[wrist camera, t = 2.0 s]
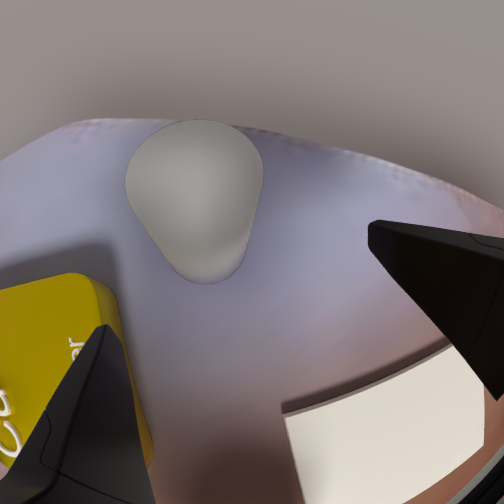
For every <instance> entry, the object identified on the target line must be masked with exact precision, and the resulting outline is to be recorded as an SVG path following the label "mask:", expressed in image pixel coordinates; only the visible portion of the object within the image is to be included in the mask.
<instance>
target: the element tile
mask: <svg viewBox="0 0 504 504" xmlns="http://www.w3.org/2000/svg"><path fill="white" fill-rule="evenodd" d="M104 324H108V325H110V327H111V328H112V329H113V331H114V332H115V334H116V335H117V337H118V338H119V339H120V341H121V343H122V345H123V348H124V352H125V358H126V362H127V367H128V372H129V376H130V381H131V385H132V390H133V396H134V404H135V411H136V417H137V423H138V429H139V435H140V440H141V445H142V450H143V455H144V460H145V464H146V469H147V467H148V466H149V464H150V462H151V461H152V459H153V457H154V446H153V441H152V438H151V436H150V433H149V430H148V427H147V424H146V421H145V418H144V414H143V411H142V408H141V405H140V401H139V398H138V394H137V391H136V387H135V383H134V379H133V376H132V372H131V368H130V363H129V359H128V355H127V350H126V346H125V341H124V336H123V331H122V326H121V320H120V315H119V309H118V304H117V301H116V298H115V296H114V295H113V293H112V291H111V290H110V289H109V288H108V287H106V286H105V285H104V284H102V283H99V282H97V281H95V280H93V279H91V278H89V277H87V276H85V275H82V274H79V273H65V274H61V275H57V276H53V277H49V278H45V279H41V280H37V281H33V282H29V283H25V284H21V285H17V286H13V287H9V288H6V289H2V290H0V461H1V462H2V464H4V465H5V466H6V467H8V468H9V469H10V468H11V466H12V464H13V462H14V461H15V459H16V457H17V456H18V454H19V452H20V451H21V449H22V447H23V446H24V444H25V442H26V441H27V439H28V437H29V436H30V434H31V432H32V431H33V429H34V427H35V425H36V424H37V422H38V420H39V418H40V417H41V415H42V413H43V411H44V410H46V409H45V408H46V406H47V404H48V402H49V401H50V399H51V397H52V395H53V394H54V392H55V390H56V389H57V387H58V385H59V384H60V382H61V380H62V379H63V377H64V375H65V374H66V372H67V371H68V369H69V367H70V366H71V364H72V363H73V361H74V360H75V358H76V356H77V355H78V353H79V352H80V350H81V349H82V347H83V346H84V344H85V343H86V341H87V340H88V338H89V337H90V335H91V334H92V332H93V331H94V329H95V328H96V327H98V326H101V325H104Z"/></svg>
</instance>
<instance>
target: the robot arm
mask: <svg viewBox="0 0 504 504" xmlns="http://www.w3.org/2000/svg"><path fill="white" fill-rule="evenodd" d="M368 247H369V249H370V251H371V252H372V253H373V254H374V256H375V257H376V258H377V259H378V261H379V262H380V263H381V264H382V265H383V267H384V268H385V269H386V270H387V272H388V273H389V274H390V276H391V277H392V278H393V279H394V280H395V281H396V282H397V284H398V285H399V286H400V287H401V288H402V289H403V290H404V291H405V292H406V293H407V294H408V295H409V296H410V297H411V298H412V299H413V301H414V302H415V303H416V304H417V305H418V306H419V307H420V308H421V309H422V310H423V311H424V313H425V314H426V315H427V316H428V317H429V318H430V319H431V320H432V322H433V323H434V324H435V325H436V326H437V327H438V328H439V330H440V331H441V332H442V333H443V334H444V335H445V337H446V338H447V339H448V340H449V341H450V343H451V344H452V345H453V346H454V347H455V349H456V350H457V351H458V352H459V353H460V355H461V356H462V357H463V358H464V360H465V361H466V362H467V364H468V365H469V366H470V368H471V369H472V370H473V371H474V373H475V374H476V375H477V377H478V378H479V379H480V381H481V382H482V383H483V385H484V386H485V387H486V389H487V390H488V391H489V393H490V394H491V395H492V397H493V398H494V399H495V400H496V401H498V399H499V398H500V397H501V396H502V395H503V394H504V238H498V237H491V236H485V235H479V234H473V233H466V232H461V231H455V230H449V229H442V228H436V227H429V226H422V225H415V224H408V223H401V222H393V221H386V220H376V221H373V222H371V223H370V224H369V225H368ZM45 409H46V410H44V411H43V413H42V415H41V417H40V418H39V420H38V422H37V424H36V425H35V427H34V429H33V431H32V432H31V434H30V436H29V437H28V439H27V441H26V442H25V444H24V446H23V447H22V449H21V451H20V452H19V454H18V456H17V457H16V459H15V461H14V462H13V464H12V466H11V468H10V469H9V471H8V473H7V474H6V475H5V476H4V478H2V479H1V480H0V504H156V503H155V499H154V496H153V492H152V489H151V485H150V481H149V477H148V473H147V469H146V464H145V460H144V455H143V450H142V445H141V440H140V435H139V429H138V423H137V417H136V411H135V404H134V396H133V390H132V385H131V381H130V376H129V372H128V367H127V362H126V358H125V352H124V348H123V345H122V343H121V341H120V339H119V338H118V337H117V335H116V334H115V332H114V331H113V329H112V328H111V327H110V325H108V324H104V325H101V326H98V327H96V328H95V329H94V331H93V332H92V334H91V335H90V337H89V338H88V340H87V341H86V343H85V344H84V346H83V347H82V349H81V350H80V352H79V353H78V355H77V356H76V358H75V360H74V361H73V363H72V364H71V366H70V367H69V369H68V371H67V372H66V374H65V375H64V377H63V379H62V380H61V382H60V384H59V385H58V387H57V389H56V390H55V392H54V394H53V395H52V397H51V399H50V401H49V402H48V404H47V406H46V408H45ZM503 495H504V444H503V445H502V447H501V448H500V449H499V450H498V451H497V453H496V454H495V455H494V456H493V457H492V458H491V460H490V461H489V462H488V463H487V464H486V465H485V466H484V467H483V468H482V469H481V470H480V472H479V473H478V474H477V475H476V476H475V477H474V478H473V479H472V480H471V481H470V482H469V483H468V484H467V485H466V486H465V487H463V488H462V489H461V490H460V491H459V492H458V493H457V494H456V495H455V496H454V497H452V498H451V499H450V500H449V501H448V502H447V503H446V504H504V497H503ZM502 497H503V498H502Z"/></svg>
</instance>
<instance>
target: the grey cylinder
mask: <svg viewBox="0 0 504 504" xmlns="http://www.w3.org/2000/svg"><path fill="white" fill-rule="evenodd" d="M263 178H264V170H263V164H262V160H261V157H260V154H259V152H258V150H257V149H256V147H255V146H254V144H253V143H252V142H251V141H250V140H249V139H248V137H246V136H245V135H244V134H243V133H242V132H240V131H238V130H237V129H235V128H233V127H231V126H229V125H227V124H224V123H221V122H217V121H212V120H187V121H182V122H178V123H174V124H171V125H169V126H167V127H164V128H162V129H161V130H159V131H157V132H155V133H154V134H153V135H151V136H150V137H149V138H147V139H146V140H145V141H144V142H143V143H142V144H141V145H140V146H139V148H138V149H137V150H136V152H135V153H134V155H133V157H132V158H131V160H130V163H129V165H128V168H127V172H126V177H125V191H126V196H127V199H128V202H129V204H130V206H131V208H132V210H133V212H134V213H135V215H136V216H137V218H138V219H139V221H140V222H141V224H142V225H143V227H144V228H145V229H146V231H147V232H148V234H149V235H150V237H151V238H152V240H153V241H154V242H155V244H156V245H157V247H158V248H159V250H160V251H161V252H162V254H163V255H164V257H165V258H166V259H167V261H168V262H169V263H170V265H171V266H172V268H173V269H174V270H175V271H176V272H177V273H178V274H179V275H180V276H181V277H183V278H184V279H186V280H188V281H190V282H193V283H197V284H213V283H217V282H220V281H223V280H224V279H226V278H228V277H229V276H231V275H232V274H233V273H234V272H235V271H236V270H237V269H238V268H239V266H240V265H241V263H242V261H243V259H244V255H245V252H246V248H247V244H248V240H249V236H250V232H251V228H252V224H253V220H254V216H255V212H256V209H257V205H258V201H259V197H260V193H261V189H262V185H263Z"/></svg>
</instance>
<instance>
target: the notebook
mask: <svg viewBox="0 0 504 504" xmlns="http://www.w3.org/2000/svg"><path fill="white" fill-rule="evenodd" d="M282 416H283V421H284V425H285V429H286V433H287V437H288V441H289V445H290V449H291V453H292V457H293V461H294V465H295V469H296V473H297V477H298V481H299V485H300V489H301V493H302V497H303V501H304V504H403V503H404V502H406V501H408V500H410V499H411V498H413V497H415V496H416V495H418V494H419V493H421V492H423V491H424V490H426V489H427V488H429V487H430V486H432V485H433V484H435V483H436V482H438V481H439V480H440V479H442V478H443V477H445V476H446V475H447V474H449V473H450V472H451V471H453V470H454V469H455V468H457V467H458V466H459V465H461V464H462V463H463V462H464V461H466V460H467V459H468V458H469V457H470V456H472V455H473V454H474V453H475V452H476V451H477V450H478V449H480V448H481V447H482V446H483V441H484V388H483V383H482V382H481V381H480V379H479V378H478V377H477V375H476V374H475V373H474V371H473V370H472V369H471V368H470V366H469V365H468V364H467V362H466V361H465V360H464V358H463V357H462V356H461V355H460V353H459V352H458V351H457V350H456V349H455V347H454V346H453V345H452V344H449V345H447V346H446V347H444V348H442V349H440V350H439V351H437V352H435V353H433V354H431V355H430V356H428V357H426V358H424V359H422V360H420V361H418V362H416V363H414V364H412V365H410V366H408V367H406V368H404V369H402V370H400V371H398V372H396V373H394V374H392V375H390V376H387V377H385V378H383V379H381V380H378V381H376V382H374V383H371V384H369V385H367V386H364V387H362V388H359V389H357V390H354V391H352V392H349V393H347V394H344V395H341V396H339V397H336V398H333V399H330V400H327V401H324V402H321V403H318V404H315V405H312V406H309V407H306V408H303V409H300V410H296V411H293V412H289V413H286V414H282Z"/></svg>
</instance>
